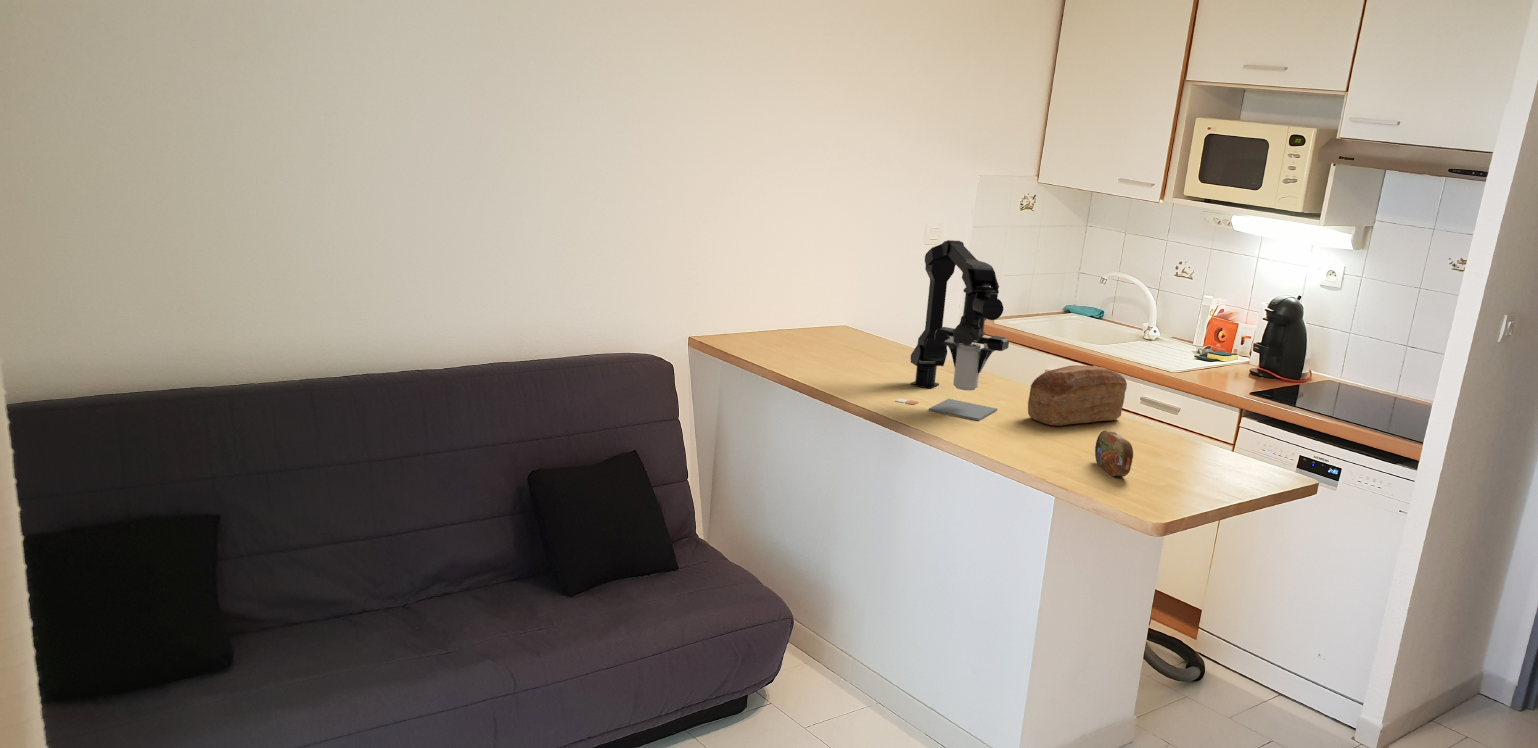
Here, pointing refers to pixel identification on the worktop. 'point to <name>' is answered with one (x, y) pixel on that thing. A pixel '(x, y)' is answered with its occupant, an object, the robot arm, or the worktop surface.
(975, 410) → the slate mat
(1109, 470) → the tin
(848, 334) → the worktop surface
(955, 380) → the beverage can
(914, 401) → the two-tone square tiles
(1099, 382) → the bread
